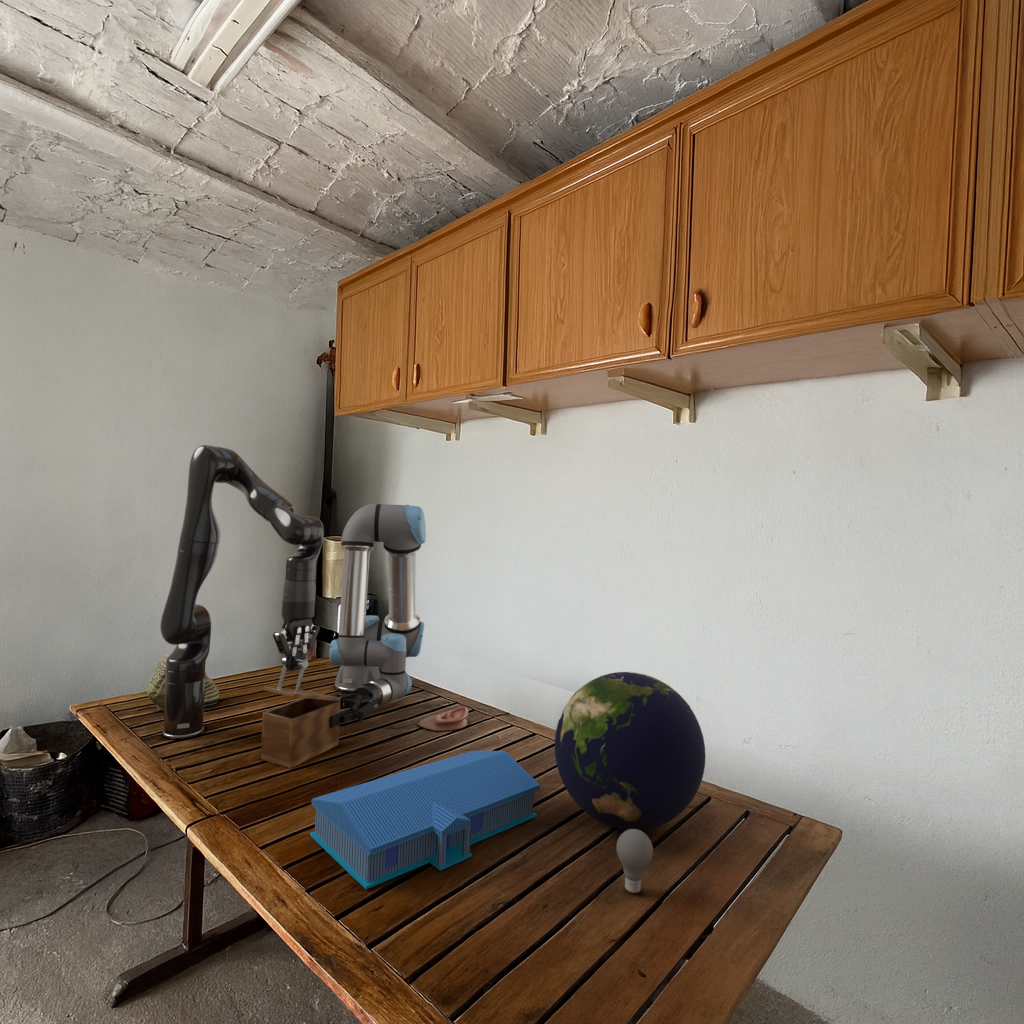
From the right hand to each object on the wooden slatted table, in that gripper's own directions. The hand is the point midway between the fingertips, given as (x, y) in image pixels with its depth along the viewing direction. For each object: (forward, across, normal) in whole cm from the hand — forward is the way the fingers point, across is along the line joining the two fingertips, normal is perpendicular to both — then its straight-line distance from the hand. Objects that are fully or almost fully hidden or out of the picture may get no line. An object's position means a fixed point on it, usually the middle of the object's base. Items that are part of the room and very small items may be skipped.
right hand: (315, 718), depth 160 cm
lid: (+5, 0, +7) cm, 8 cm away
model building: (+19, -48, -7) cm, 52 cm away
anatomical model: (-30, -19, -7) cm, 37 cm away
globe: (-3, -80, -7) cm, 80 cm away
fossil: (-2, +52, -7) cm, 53 cm away
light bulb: (+19, -87, -7) cm, 90 cm away
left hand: (+8, 0, +14) cm, 16 cm away
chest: (+5, 0, -7) cm, 8 cm away
